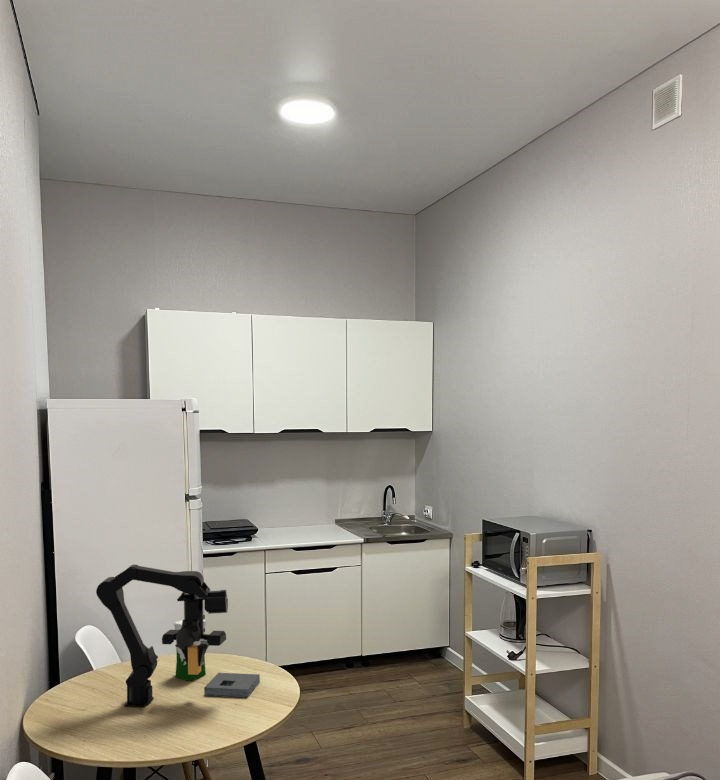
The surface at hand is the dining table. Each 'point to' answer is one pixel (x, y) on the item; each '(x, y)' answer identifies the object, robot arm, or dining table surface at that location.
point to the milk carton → (181, 661)
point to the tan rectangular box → (193, 660)
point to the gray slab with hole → (232, 685)
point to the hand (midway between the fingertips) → (194, 665)
